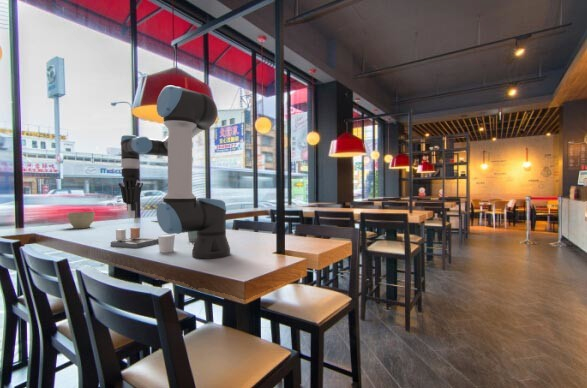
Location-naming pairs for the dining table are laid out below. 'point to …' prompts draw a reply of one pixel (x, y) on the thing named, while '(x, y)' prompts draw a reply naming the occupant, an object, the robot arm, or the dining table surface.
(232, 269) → the dining table surface
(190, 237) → the coffee cup
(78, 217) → the planter bowl
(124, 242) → the dark grey tray
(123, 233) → the cylinder
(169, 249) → the white tapered cup
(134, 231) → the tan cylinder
